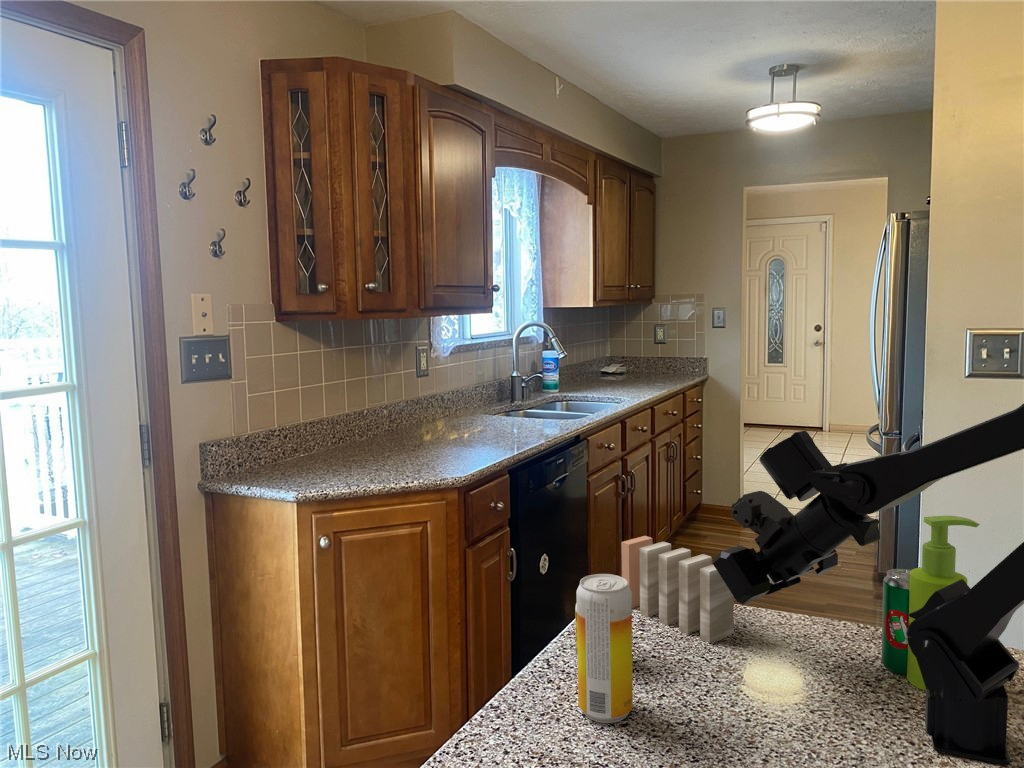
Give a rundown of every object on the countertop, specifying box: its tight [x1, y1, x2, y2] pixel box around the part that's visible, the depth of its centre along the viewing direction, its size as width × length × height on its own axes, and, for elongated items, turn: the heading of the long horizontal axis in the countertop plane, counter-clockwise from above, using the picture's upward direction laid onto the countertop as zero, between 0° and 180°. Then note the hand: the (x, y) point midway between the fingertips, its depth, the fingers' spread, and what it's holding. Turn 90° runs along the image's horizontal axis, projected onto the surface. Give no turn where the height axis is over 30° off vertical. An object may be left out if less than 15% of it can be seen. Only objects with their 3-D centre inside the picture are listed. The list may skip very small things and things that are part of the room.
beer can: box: [576, 573, 634, 724], centre depth 84 cm, size 6×6×15 cm
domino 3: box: [658, 547, 692, 626], centre depth 108 cm, size 2×5×10 cm, turn 125°
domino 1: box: [621, 535, 654, 609], centre depth 114 cm, size 2×5×10 cm, turn 125°
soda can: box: [880, 568, 912, 677], centre depth 92 cm, size 5×5×12 cm
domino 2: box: [639, 541, 672, 618], centre depth 111 cm, size 2×5×10 cm, turn 125°
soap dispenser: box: [906, 515, 980, 692], centre depth 88 cm, size 6×7×20 cm
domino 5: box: [699, 564, 735, 644], centre depth 102 cm, size 2×5×10 cm, turn 126°
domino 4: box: [678, 553, 713, 635], centre depth 105 cm, size 2×5×10 cm, turn 126°
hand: (738, 593), depth 99 cm, fingers closed
